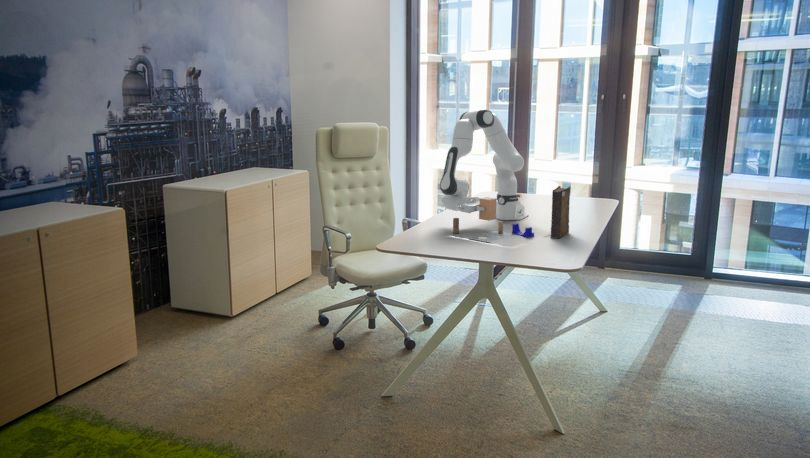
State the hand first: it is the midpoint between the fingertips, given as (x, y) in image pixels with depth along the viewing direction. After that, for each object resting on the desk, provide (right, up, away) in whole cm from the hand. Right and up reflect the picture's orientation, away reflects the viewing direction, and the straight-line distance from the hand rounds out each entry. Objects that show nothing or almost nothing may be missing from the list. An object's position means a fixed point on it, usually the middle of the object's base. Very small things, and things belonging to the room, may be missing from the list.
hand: (489, 208), depth 338 cm
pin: (-18, -14, -3) cm, 23 cm away
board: (0, -15, -8) cm, 18 cm away
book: (+35, -15, -4) cm, 38 cm away
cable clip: (+17, -15, -6) cm, 23 cm away
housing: (-1, -6, +2) cm, 6 cm away
